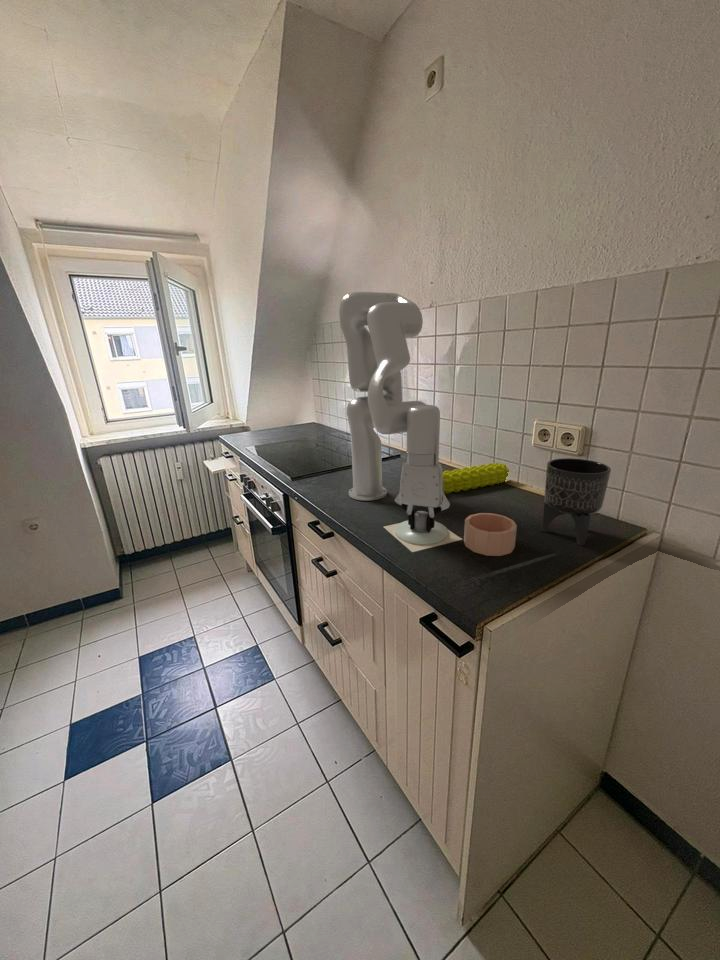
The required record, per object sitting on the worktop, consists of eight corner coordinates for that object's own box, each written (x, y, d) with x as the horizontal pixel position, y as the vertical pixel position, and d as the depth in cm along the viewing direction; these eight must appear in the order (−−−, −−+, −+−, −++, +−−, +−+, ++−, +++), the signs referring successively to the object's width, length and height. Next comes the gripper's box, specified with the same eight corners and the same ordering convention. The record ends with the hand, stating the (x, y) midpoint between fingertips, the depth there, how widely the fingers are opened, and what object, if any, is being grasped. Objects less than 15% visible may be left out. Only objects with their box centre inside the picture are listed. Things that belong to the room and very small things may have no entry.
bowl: (454, 541, 91) (455, 518, 89) (490, 531, 95) (492, 510, 93) (485, 562, 82) (487, 537, 80) (524, 551, 86) (527, 527, 84)
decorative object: (420, 492, 125) (420, 472, 122) (499, 478, 136) (501, 459, 134) (432, 499, 118) (432, 478, 116) (514, 483, 130) (516, 464, 128)
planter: (611, 545, 87) (625, 472, 81) (557, 549, 86) (568, 475, 80) (576, 521, 99) (586, 456, 93) (528, 525, 98) (536, 459, 93)
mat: (383, 528, 99) (383, 526, 99) (428, 518, 104) (428, 516, 104) (412, 554, 86) (412, 552, 86) (462, 541, 91) (462, 539, 91)
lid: (386, 527, 98) (386, 509, 97) (428, 518, 103) (429, 500, 101) (411, 549, 87) (412, 529, 85) (458, 537, 91) (459, 518, 90)
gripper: (384, 460, 88) (385, 530, 94) (455, 465, 82) (452, 540, 88) (393, 452, 95) (394, 518, 101) (460, 456, 89) (457, 527, 95)
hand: (421, 528), depth 94 cm, fingers closed on lid, 3 cm apart
